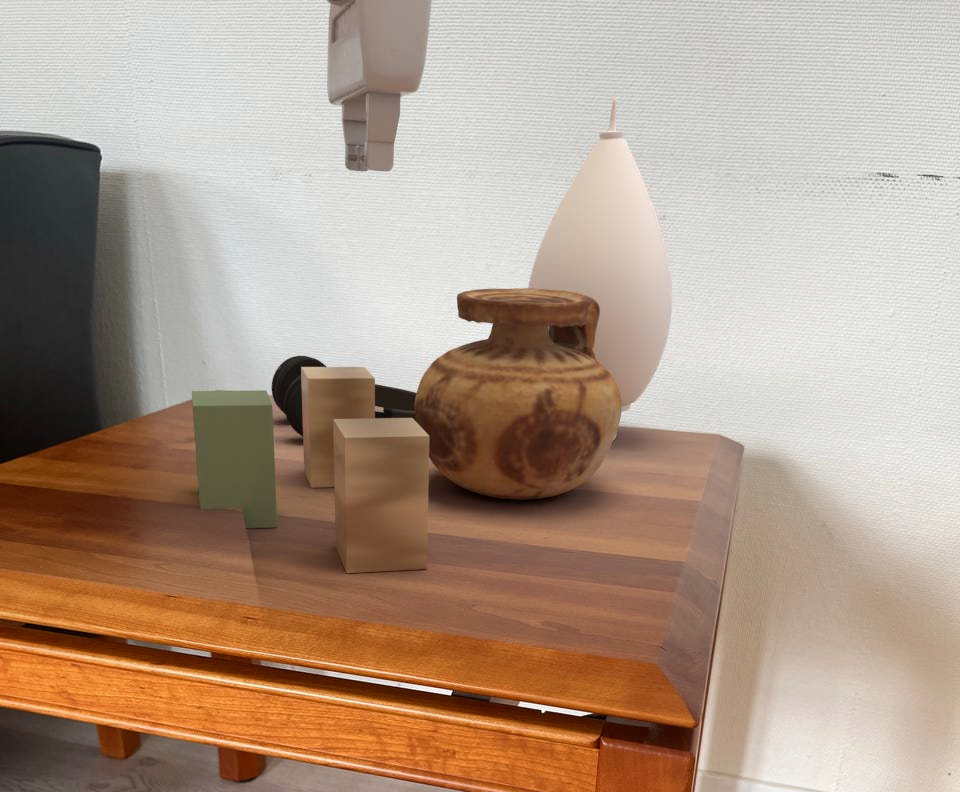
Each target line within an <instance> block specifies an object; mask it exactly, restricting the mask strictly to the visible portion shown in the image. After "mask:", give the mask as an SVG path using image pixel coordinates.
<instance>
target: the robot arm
mask: <svg viewBox="0 0 960 792" xmlns="http://www.w3.org/2000/svg"><path fill="white" fill-rule="evenodd" d="M326 2H327V3H329V4H330V5H329V14H328V15H329V16H328V31H327V33H328V34H327V65H326V66H327V69H326V71H327V72H326V73H327V74H326V89H327V98H328V102H329V104H331V105H332V106H339V107H340V106H341V125H342V133H343V140H344V141H343V142H344V165H345V168H346V169H347V170H348V171H352V172H368V171H372V172H373V171H375V172H390V171H391V170H392V169H393V168H394V158H395V143H396V142H395V141H396V138H397V133H398V132H397V131H398V127H399V121H400V117H401V98H402V97H405V96H409V95H411V94H414V93H417V92H418V91H419V88H420V86H421V82H422V78H423V74H424V70H425V65H426V58H427V49H428V41H429V31H430V21H431V11H432V3H433V1H432V0H326Z"/></svg>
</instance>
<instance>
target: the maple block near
mask: <svg viewBox="0 0 960 792" xmlns="http://www.w3.org/2000/svg"><path fill="white" fill-rule="evenodd" d="M333 435H334V487H333V488H334V530H335V531H334V532H335V533H334V534H335V548H336V551H337V553H338V556H339V559H340V561H341V563H342V566H343V568H344V570H345V573H346V574H357V573H358V574H359V573H361V574H362V573H377V572H378V573H380V572H398V571H413V570H414V571H415V570H417V571H418V570H427V569H428V536H429V535H428V534H429V533H428V532H429V530H428V529H429V528H428V526H429V482H430V481H429V480H430V478H429V477H430V458H429V435H428V434H427V433H426V432H425V431H424V430H423V429H422V428H421V426H420V425H419V424H418V423H417V422H416V421H415V420H414V419H413V418H369V419H333Z"/></svg>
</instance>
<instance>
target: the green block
mask: <svg viewBox="0 0 960 792" xmlns="http://www.w3.org/2000/svg"><path fill="white" fill-rule="evenodd" d="M191 404H192V417H193V431H194V432H193V434H194V445H195V446H194V447H195V456H196V457H195V458H196V472H197V484H198V498H199V509H200V510H216V509H242V513H243V518H244V524H245V529H246V530H249V529H250V530H251V529H270V528H278V507H277V505H278V504H277V482H276V480H277V479H276V461H275V460H276V459H275V438H274V437H275V435H274V417H273V416H274V414H273V413H274V412H273V403H272V400H271V398H270V396H269V393H268V391H267V390H265V389H264V390H260V389H259V390H257V389H256V390H192V391H191Z"/></svg>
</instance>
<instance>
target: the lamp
mask: <svg viewBox="0 0 960 792" xmlns="http://www.w3.org/2000/svg"><path fill="white" fill-rule="evenodd" d="M611 104H612V105H611V111H610V118H609V125H608V131H606V130H605V131H599V133H598V134H599V135H598V137H599V139H598V140H597V142H596V143H595V145H594V146H593V148H592V149H591V151H590V153H589V154H588V156H587V157H586V159H585V160H584V162H583V164H582V165H581V167H580V169H579V171H578V172H577V173H576V175H575V177H574V178H573V180H572V182H571V183H570V185H569V186H568V189H567V191H566V192H565V194H564V196H563V198H562V199H561V201H560V203H559V205H558V207H557V208H556V211H555V213H554V214H553V216H552V218H551V220H550V223H549V225H548V227H547V229H546V231H545V234H544V235H543V238H542V241H541V244H540V245H539V248H538V250H537V253H536V256H535V258H534V263H533V266H532V269H531V273H530V276H529V282H528V287H527V288H533V289H546V290H557V291H567V292H573V293H578V294H581V295H585V296H588V297H591V298H592V299H594V300H595V301H596V302H597V303H598V304H599V307H600V316H599V319H598V323H597V328H596V332H595V343H594V347H593V352H594V354H595V358H596V360H597V362H599V363H600V364H601V365H602V366H603V367H604V368H605V369H606V370H607V371H608V372H609V373H610V374H611V376H612V377H613V378H614V380H615V381H616V384H617V386H618V388H619V391H620V394H621V400H622V411H621V413H623V412H627V411H629V410H630V409H631V404H633V403H635V402H636V401H638V399H639V398H640V397H641V396H642V395H643V393H644V392H645V391H646V389H647V388H648V386H649V385H650V382H651V381H652V379H653V377H654V375H655V373H656V372H657V369H658V367H659V364H660V362H661V360H662V357H663V355H664V352H665V348H666V345H667V342H668V337H669V333H670V327H671V320H672V313H673V312H672V310H673V285H672V283H673V282H672V273H671V265H670V260H669V255H668V250H667V245H666V242H665V239H664V238H665V237H664V235H663V230H662V228H661V225H660V222H659V218H658V216H657V215H658V214H657V211H656V209H655V207H654V204H653V202H652V199H651V196H650V194H649V191H648V189H647V186H646V183H645V181H644V178H643V177H642V173H641V172H640V169H639V168H638V165H637V162H636V160H635V158H634V156H633V154H632V153H633V152H632V151H631V149H630V147H629V144H628V142H627V141H626V139H625V138H624V137H623V136H624V135H625V132H626V131H617V98H616V97H614V98H613V100H612V103H611ZM548 331H549V326H548ZM616 435H617V434H616ZM616 435H615V436H616Z"/></svg>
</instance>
